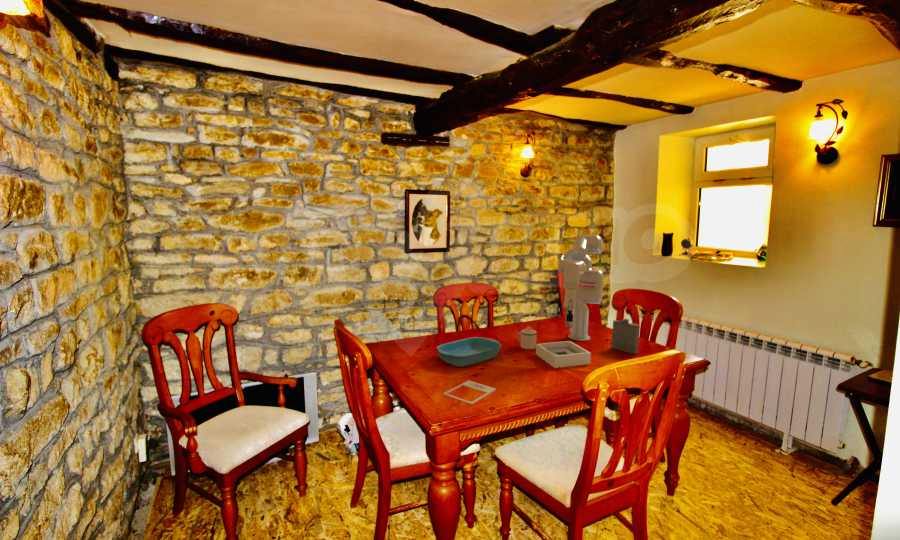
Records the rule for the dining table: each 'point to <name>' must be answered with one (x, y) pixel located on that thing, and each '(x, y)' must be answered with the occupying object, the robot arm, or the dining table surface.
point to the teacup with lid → (528, 338)
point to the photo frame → (473, 386)
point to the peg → (569, 324)
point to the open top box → (563, 354)
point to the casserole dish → (468, 351)
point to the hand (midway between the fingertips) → (569, 320)
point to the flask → (625, 336)
